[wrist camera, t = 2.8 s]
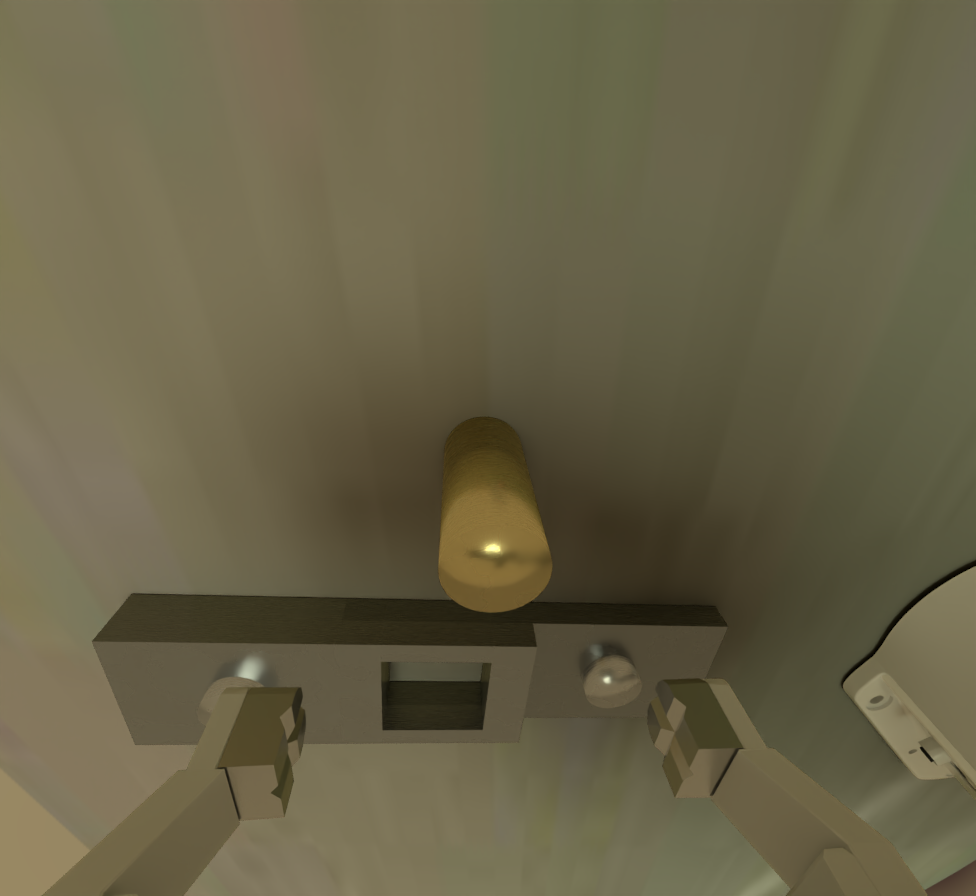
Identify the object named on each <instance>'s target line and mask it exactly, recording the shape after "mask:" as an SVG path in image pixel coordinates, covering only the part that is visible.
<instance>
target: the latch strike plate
mask: <svg viewBox="0 0 976 896" xmlns="http://www.w3.org/2000/svg"><path fill="white" fill-rule="evenodd" d="M727 629H728V626H727V624H726V622H725V621H724V619H723V618H722V616H721V615H720V613H719V612H718V610H717V608H716V607H715V606H674V605H626V604H579V603H532V602H529V603H527V604H525V605H523V606H521V607H519V608H516V609H513V610H509V611H504V612H495V613H494V612H480V611H475V610H472V609H468V608H466V607H464V606H462V605H460V604H458V603H456V602H455V601H437V600H389V599H342V598H295V597H247V596H200V595H152V594H131V595H130V596H129V598H128V599H127V600H126V601H125V602H124V604H123V605H122V606H121V607H120V608H119V610H118V611H117V612H116V613H115V614H114V616H113V617H112V618H111V619H110V620H109V621H108V623H107V624H106V625H105V626H104V627H103V629H102V630H101V631H100V632H99V633H98V635H97V636H96V637H95V638H94V639H93V641H92V643H93V646H94V648H95V650H96V653H97V655H98V657H99V660H100V662H101V665H102V667H103V669H104V672H105V674H106V677H107V679H108V681H109V684H110V686H111V688H112V691H113V693H114V696H115V698H116V700H117V703H118V705H119V707H120V710H121V712H122V715H123V717H124V719H125V722H126V724H127V726H128V729H129V731H130V734H131V736H132V738H133V741H134V743H135V745H198V743H199V740H200V738H201V736H202V734H203V732H204V729H205V727H206V725H207V723H208V721H209V718H210V716H211V714H212V712H213V710H214V707H215V705H216V703H217V701H218V699H219V696H220V695H221V694H222V692H223V691H224V690H225V689H226V687H301V688H302V693H303V699H302V703H301V706H300V707H302V708H303V709H304V710H305V714H306V729H305V736H304V743H303V744H363V743H516V742H519V738H520V733H521V728H522V723H523V718H563V717H647V710H648V707H649V704H650V702H651V701H652V700H653V699H655V698H656V697H657V696H658V695H657V693H656V691H655V688H656V686H657V683H658V682H659V681H661V680H666V679H692V678H700V679H705V678H706V676H707V673H708V671H709V669H710V667H711V665H712V662H713V660H714V658H715V656H716V653H717V651H718V649H719V647H720V644H721V642H722V640H723V638H724V635H725V633H726V631H727ZM389 662H466V663H483V665H482V674H481V682H389Z"/></svg>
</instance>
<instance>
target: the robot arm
mask: <svg viewBox="0 0 976 896" xmlns="http://www.w3.org/2000/svg"><path fill="white" fill-rule="evenodd" d="M843 689H844V691H845V692H846V693H847V695H848V696H849V697H850V698H851V700H852V701H853V702H854V703H855V705H856V706H857V707H858V708H859V709H860V711H861V712H862V713H863V714H864V716H865V717H866V718H867V719H868V721H869V722H870V723H871V724H872V726H873V727H874V728H875V729H876V731H877V732H878V733H879V734H880V735H881V737H882V738H883V739H884V740H885V742H886V743H887V744H888V745H889V747H890V748H891V749H892V750H893V752H894V753H895V754H896V755H897V757H898V758H899V759H900V760H901V761H902V763H903V764H904V765H905V766H906V767H907V768H908V769H909V770H910V771H911V772H912V774H913V775H914V776H915V777H917V778H918V779H923V780H925V779H943V778H951V777H955V778H956V779H957V780H958V781H959V782H960V783H961V784H962V786H963V787H964V788H965V789H966V790H967V791H968V792H969V794H970V795H971V796H972V797H973V798H974V799H975V800H976V566H975V567H973V568H971V569H969V570H967V571H965V572H963V573H961V574H959V575H958V576H956V577H954V578H952V579H951V580H949V581H947V582H946V583H944V584H943V585H941V586H940V587H938V588H937V589H935V590H934V591H932V592H931V593H930V594H928V595H927V596H926V597H924V598H923V599H922V600H921V601H919V602H918V603H917V604H916V605H915V606H914V607H912V608H911V609H910V610H909V611H908V612H907V613H906V614H905V615H904V616H903V617H902V618H901V620H900V621H899V622H898V623H897V624H896V625H895V627H894V628H893V629H892V631H891V632H890V633H889V635H888V636H887V638H886V639H885V641H884V642H883V644H882V645H881V647H880V648H879V650H878V651H877V652H876V653H875V654H874V656H873V657H871V658H870V659H869V660H868V661H866V662H865V663H864V664H863V665H861V666H860V667H859V668H858V669H856V670H855V671H854V672H853V673H852V674H851V675H850V676H849V677H848V678H847V679H846V680H845V682H844V684H843ZM655 691H656V693H657V695H658V696H657V697H656V698H655V699H653V700H652V701H651V702H650V704H649V707H648V710H647V721H648V728H649V732H650V735H651V738H652V741H653V743H654V746H655V747H656V748H658V749H659V750H660V751H661V752H662V753H663V754H664V755H665V756H664V760H663V765H662V767H663V769H664V772H665V774H666V777H667V779H668V782H669V784H670V787H671V789H672V792H673V794H674V797H675V798H702V797H712V799H711V800H712V801H713V802H714V803H715V805H716V806H717V807H718V808H719V809H720V810H721V811H722V812H723V814H724V815H725V816H726V817H727V818H728V819H729V820H730V821H731V823H732V824H733V825H734V826H735V827H736V828H737V829H738V830H739V831H740V833H741V834H742V835H743V836H744V837H745V838H746V839H747V840H748V842H749V843H750V844H751V845H752V846H753V847H754V848H755V849H756V850H757V852H758V853H759V854H760V855H761V856H762V857H763V858H764V859H765V861H766V862H767V863H768V864H769V865H770V866H771V867H772V868H773V870H774V871H775V872H776V873H777V874H778V875H779V876H780V877H781V878H782V880H783V881H784V882H785V883H786V884H787V885H788V886H789V887H790V889H791V890H790V891H789V892H788V893H787V895H786V896H928V895H927V894H926V892H925V891H924V889H923V888H922V886H921V885H920V884H919V882H918V881H917V879H916V878H915V876H914V875H913V874H912V872H911V871H910V869H909V868H908V866H907V865H906V864H905V862H904V861H903V859H902V858H901V856H900V855H899V853H898V852H897V851H896V849H895V848H894V846H893V845H892V843H891V842H889V841H888V840H887V839H886V838H884V837H883V836H882V835H881V834H879V833H878V832H877V831H876V830H874V829H873V828H872V827H871V826H869V825H868V824H867V823H866V822H865V821H863V820H862V819H861V818H860V817H858V816H857V815H856V814H855V813H853V812H852V811H851V810H850V809H848V808H847V807H846V806H845V805H843V804H842V803H841V802H840V801H838V800H837V799H836V798H835V797H833V796H832V795H831V794H830V793H828V792H827V791H826V790H825V789H824V788H822V787H821V786H820V785H819V784H817V783H816V782H815V781H814V780H812V779H811V778H810V777H809V776H807V775H806V774H805V773H804V772H802V771H801V770H800V769H799V768H797V767H796V766H795V765H794V764H792V763H791V762H790V761H789V760H788V759H786V758H785V757H784V756H783V755H781V754H780V753H779V752H778V751H776V750H775V749H774V748H767V747H766V745H765V743H764V742H763V740H762V739H761V737H760V735H759V734H758V732H757V730H756V729H755V727H754V725H753V724H752V722H751V720H750V719H749V717H748V715H747V714H746V712H745V710H744V709H743V707H742V705H741V704H740V702H739V700H738V699H737V697H736V695H735V694H734V692H733V690H732V689H731V687H730V685H729V684H728V683H727V682H726V681H725V680H724V679H720V678H712V679H700V678H692V679H666V680H661V681H659V682H658V683H657V686H656V688H655ZM302 699H303V693H302V688H301V687H226V689H225V690H224V691H223V692H222V694H221V695H220V696H219V699H218V701H217V703H216V705H215V707H214V710H213V712H212V714H211V716H210V718H209V721H208V723H207V725H206V727H205V729H204V732H203V734H202V736H201V738H200V740H199V743H198V745H197V747H196V749H195V751H194V754H193V756H192V758H191V760H190V762H189V765H188V767H187V769H186V770H178V771H177V772H176V773H175V774H174V775H173V776H172V777H170V778H169V779H168V780H167V781H166V782H165V783H164V784H163V785H162V786H161V787H160V788H158V789H157V790H156V791H155V792H154V793H153V794H152V795H151V796H150V797H149V798H148V799H147V800H145V801H144V802H143V803H142V804H141V805H140V806H139V807H138V808H137V809H136V810H135V811H133V812H132V813H131V814H130V815H129V816H128V817H127V818H126V819H125V820H124V821H123V822H121V823H120V824H119V825H118V826H117V827H116V828H115V829H114V830H113V831H112V832H111V833H110V834H108V835H107V836H106V837H105V838H104V839H103V840H102V841H101V842H100V843H99V844H98V845H96V846H95V847H94V848H93V849H92V850H91V851H90V852H89V853H88V854H87V855H86V856H85V857H83V858H82V859H81V860H80V861H79V862H78V863H77V864H76V865H75V866H74V867H73V868H71V869H70V870H69V871H68V872H67V873H66V874H65V875H64V876H63V877H62V878H61V879H59V880H58V881H57V882H56V883H55V884H54V885H53V886H52V887H51V888H50V889H49V890H47V891H46V892H45V893H44V894H43V895H42V896H184V894H185V893H186V892H187V890H188V889H189V888H190V887H191V885H192V884H193V883H194V882H195V880H196V879H197V878H198V876H199V875H200V874H201V873H202V871H203V870H204V869H205V868H206V866H207V865H208V864H209V863H210V861H211V860H212V859H213V857H214V856H215V855H216V854H217V852H218V851H219V850H220V849H221V847H222V846H223V845H224V843H225V842H226V841H227V840H228V838H229V837H230V836H231V835H232V833H233V832H234V831H235V829H236V828H237V827H238V826H239V824H240V822H239V821H244V820H257V819H269V818H282V817H285V813H286V809H287V805H288V802H289V798H290V794H291V790H292V786H293V783H294V778H293V772H292V766H293V765H294V764H295V763H296V762H297V761H298V759H299V758H300V755H301V751H302V747H303V743H304V736H305V729H306V714H305V710H304V709H303V708H302V707H300V706H301V703H302Z"/></svg>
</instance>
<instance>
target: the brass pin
mask: <svg viewBox="0 0 976 896" xmlns="http://www.w3.org/2000/svg"><path fill="white" fill-rule="evenodd" d="M551 574H552V558H551V554H550V550H549V547H548V543H547V539H546V535H545V532H544V528H543V524H542V520H541V517H540V513H539V509H538V505H537V502H536V498H535V494H534V490H533V487H532V483H531V479H530V475H529V472H528V468H527V464H526V460H525V457H524V453H523V449H522V445H521V442H520V439H519V437H518V435H517V433H516V432H515V430H514V429H513V428H512V427H511V426H510V425H508V424H507V423H505V422H504V421H501V420H499V419H496V418H492V417H476V418H472V419H469V420H466V421H464V422H462V423H461V424H459V425H458V426H457V427H456V428H455V429H454V430H453V431H452V432H451V433H450V435H449V437H448V439H447V441H446V444H445V450H444V469H443V489H442V508H441V527H440V546H439V565H438V575H439V580H440V583H441V585H442V587H443V589H444V591H445V592H446V593H447V595H448V596H449V597H450V598H451V599H453V600H454V601H455V602H456V603H458V604H460V605H462V606H464V607H466V608H468V609H472V610H475V611H480V612H494V613H495V612H504V611H509V610H513V609H516V608H519V607H521V606H523V605H525V604H527V603H529V602H530V601H532V600H533V599H535V598H536V597H537V596H538V595H539V594H540V593H541V592H542V591H543V590H544V588H545V587H546V586H547V584H548V582H549V580H550V577H551Z"/></svg>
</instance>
